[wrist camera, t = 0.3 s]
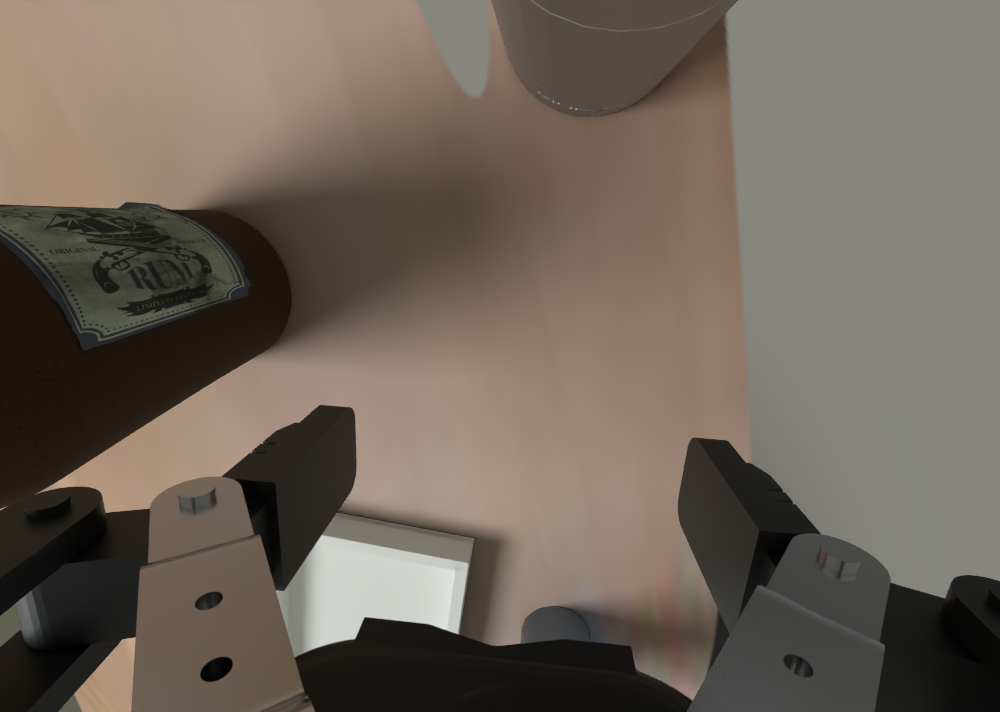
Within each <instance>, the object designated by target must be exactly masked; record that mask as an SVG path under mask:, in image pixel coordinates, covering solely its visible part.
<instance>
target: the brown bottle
mask: <svg viewBox="0 0 1000 712" xmlns="http://www.w3.org/2000/svg"><path fill="white" fill-rule="evenodd" d="M159 206H160V205H158V206H157V204H146V203H132V202H126V203H125V204H123V205H122V206H121V207H119V208H118V209H114V208H82V207H50V206H23V205H0V509H1V508H3V507H6V506H9V505H11V504H13V503H15V502H17V501H19V500H22V499H24V498H27V497H29V496H32V495H34V494H36V493H38V492H40V491H42V490H44V489H45V488H47V487H49V486H51V485H52V484H54V483H56V482H57V481H59V480H60V479H62V478H64V477H65V476H67V475H68V474H70V473H71V472H73V471H74V470H76V469H78V468H79V467H81V466H82V465H84V464H85V463H87V462H88V461H90V460H91V459H93V458H95V457H96V456H98V455H99V454H101V453H102V452H104V451H105V450H107V449H108V448H110V447H112V446H113V445H115V444H116V443H118V442H119V441H121V440H122V439H124V438H125V437H127V436H129V435H130V434H132V433H133V432H135V431H136V430H138V429H139V428H141V427H143V426H144V425H146V424H147V423H149V422H150V421H152V420H154V419H155V418H157V417H158V416H160V415H162V414H163V413H165V412H166V411H168V410H169V409H171V408H173V407H174V406H176V405H177V404H179V403H181V402H182V401H184V400H185V399H187V398H188V397H190V396H192V395H193V394H195V393H196V392H198V391H200V390H201V389H203V388H204V387H206V386H208V385H209V384H211V383H212V382H214V381H216V380H217V379H219V378H221V377H222V376H224V375H226V374H227V373H229V372H231V371H232V370H234V369H236V368H238V367H239V366H241V365H243V364H244V363H246V362H248V361H249V360H251V359H253V358H254V357H256V356H258V355H259V354H261V353H262V352H264V351H265V350H267V349H268V348H269V347H270V346H272V345H273V344H274V343H275V341H276V340H277V339H278V338H279V336H280V335H281V333H282V332H283V330H284V328H285V326H286V323H287V320H288V317H289V312H290V303H291V296H290V287H289V282H288V278H287V275H286V272H285V269H284V267H283V264H282V262H281V260H280V258H279V257H278V255H277V253H276V252H275V250H274V249H273V248H272V246H271V245H270V244H269V243H268V241H267V240H266V239H265V238H264V237H263V236H262V235H261V234H260V233H259V232H258V231H256V230H255V229H254V228H253V227H251V226H250V225H248V224H247V223H245V222H243V221H242V220H240V219H238V218H236V217H233V216H231V215H228V214H224V213H221V212H216V211H208V210H170V209H165V208H162V207H159Z"/></svg>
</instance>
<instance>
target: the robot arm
mask: <svg viewBox="0 0 1000 712" xmlns="http://www.w3.org/2000/svg"><path fill="white" fill-rule="evenodd" d="M736 1H737V0H491V2H492V5H493V8H494V11H495V14H496V17H497V21H498V24H499V28H500V31H501V34H502V37H503V41H504V44H505V47H506V50H507V53H508V56H509V58H510V60H511V63H512V65H513V67H514V69H515V71H516V74H517V75H518V77H519V78H520V79H521V81H522V82H523V83H524V85H525V86H526V87H527V89H528V90H529V91H530V92H531V93H532V94H534V95H535V96H536V97H537V98H538V99H539V100H540V101H542V102H543V103H545V104H546V105H548V106H550V107H552V108H554V109H556V110H558V111H560V112H564V113H567V114H571V115H575V116H594V117H596V116H601V115H606V114H611V113H615V112H618V111H620V110H622V109H624V108H627V107H629V106H631V105H633V104H635V103H636V102H637V101H639V100H640V99H642V98H643V97H644V96H646V95H647V94H649V93H650V92H651V91H652V90H653V89H654V88H655V87H656V86H657V85H658V84H659V83H660V82H661V81H662V80H663V79H664V78H665V76H666V75H667V74H668V73H669V72H670V71H671V70H673V69H674V68H675V67H676V66H677V65H678V63H679V62H680V61H681V60H682V59H683V58H684V57H685V56H686V55H687V54H688V53H689V52H690V51H691V50H692V49H693V47H694V46H695V45H696V44H697V43H698V42H699V41H700V40H701V39H702V38H703V37H704V36H705V35H706V34H707V33H708V31H709V30H710V29H711V28H712V27H713V26H714V25H715V24H716V23H717V22H718V21H719V20H720V19H721V18H722V16H723V15H724V14H725V13H726V12H727V11H728V10H729V9H730V8H731V7H732V6H733V5H734V4H735V3H736ZM355 476H356V432H355V414H354V411H353V409H352V408H350V407H338V406H326V405H319V406H318V407H317V408H316V409H315V410H313V411H312V412H311V413H310V414H309V415H308V416H307V417H305V418H304V419H303V420H302V421H301V422H300V423H293V424H291V425H289V426H287V427H284V428H282V429H280V430H277V431H276V432H274V433H273V434H272V435H271V436H270V437H268V438H267V439H266V440H265V441H264V442H263V444H260V445H259V446H258V447H256V448H255V449H254V450H253V451H252V453H249V454H248V455H247V456H246V457H245V458H243V459H242V460H241V461H240V462H239V463H237V464H236V465H235V466H234V467H233V468H231V469H230V470H229V471H228V472H227V473H225V474H224V475H223V476H222V477H204V478H198V479H193V480H189V481H186V482H182V483H180V484H177V485H175V486H172V487H170V488H168V489H167V490H165V491H163V492H162V493H160V494H159V495H158V496H157V497H156V498H155V499H154V500H153V502H152V503H151V506H150V509H142V510H131V511H121V512H110V513H105V508H104V503H103V498H102V494H101V493H100V492H99V491H98V490H96V489H93V488H90V487H66V488H59V489H54V490H49V491H45V492H41V493H38V494H35V495H32V496H29V497H27V498H24V499H22V500H19V501H17V502H15V503H13V504H11V505H9V506H7V507H6V508H4V509H2V510H1V511H0V616H1V615H2V614H3V613H4V612H5V611H7V610H8V609H9V608H10V607H12V606H13V605H15V609H16V612H17V616H18V620H19V624H20V627H21V630H20V631H19V632H17V633H16V634H15V635H14V636H13V637H12V638H11V639H9V640H8V641H7V642H6V643H5V644H4V645H2V646H1V647H0V712H58V711H59V710H60V709H61V708H62V707H63V705H64V704H65V703H66V702H67V701H68V700H69V699H70V698H71V696H72V695H73V694H74V693H75V692H76V691H77V690H78V689H79V688H80V686H81V685H82V684H83V683H84V682H85V681H86V680H87V679H88V677H89V676H90V675H91V674H92V673H93V672H94V671H95V670H96V669H97V667H98V666H99V665H100V664H101V663H102V662H103V661H104V660H105V658H106V657H107V656H108V655H109V654H110V653H111V652H112V651H113V650H114V648H115V647H116V646H117V645H118V644H119V643H120V641H121V640H122V639H126V638H133V637H136V642H135V659H134V676H133V693H132V710H131V712H1000V581H997V580H993V579H990V578H986V577H980V576H972V575H965V576H964V575H963V576H959V577H956V578H954V579H953V581H952V582H951V585H950V587H949V590H948V593H947V595H946V598H941V597H938V596H934V595H931V594H927V593H923V592H920V591H917V590H913V589H910V588H906V587H902V586H899V585H896V584H893V583H890V582H891V581H890V575H889V573H888V571H887V570H886V568H885V567H884V566H883V565H882V564H881V563H880V562H879V561H878V560H877V559H876V558H874V557H873V556H872V555H870V554H869V553H867V552H866V551H864V550H862V549H861V548H859V547H857V546H855V545H853V544H850V543H848V542H846V541H843V540H840V539H838V538H834V537H831V536H827V535H822V534H821V533H820V532H819V531H818V530H817V529H816V528H815V526H814V525H813V524H812V523H811V522H810V521H809V520H808V518H807V517H806V516H805V515H804V514H803V513H802V512H801V510H800V509H799V508H798V507H797V506H796V505H795V504H793V502H792V500H791V499H790V498H789V497H788V496H787V494H786V493H783V490H782V488H781V487H780V486H779V485H778V484H777V483H776V482H775V480H774V479H773V478H772V477H771V476H770V475H768V474H767V473H765V472H763V471H762V470H761V469H759V468H757V467H755V466H754V465H753V464H751V463H746V462H745V461H744V460H743V459H742V458H741V456H740V455H739V454H738V453H737V451H736V450H735V449H734V448H733V446H732V445H731V444H730V443H729V442H728V441H726V440H715V439H704V438H692V439H691V441H690V443H689V445H688V449H687V454H686V460H685V465H684V471H683V476H682V481H681V487H680V492H679V498H678V515H679V521H680V525H681V527H682V529H683V532H684V534H685V536H686V538H687V541H688V543H689V545H690V547H691V549H692V552H693V554H694V556H695V558H696V561H697V563H698V565H699V567H700V570H701V572H702V574H703V576H704V579H705V581H706V583H707V585H708V588H709V590H710V592H711V594H712V596H713V599H714V601H715V603H716V605H717V608H718V610H719V612H720V614H721V617H722V619H723V621H724V623H725V625H726V628H727V630H728V632H729V637H728V639H727V641H726V642H725V644H724V646H723V648H722V650H721V651H720V653H719V655H718V657H717V658H716V660H715V662H714V664H713V666H712V667H711V669H710V671H709V673H708V674H707V676H706V678H705V680H704V682H703V683H702V685H701V687H700V689H699V691H698V692H697V694H696V696H695V698H694V699H693V701H692V700H691V699H689V698H688V697H687V696H685V695H684V694H682V693H681V692H679V691H678V690H676V689H674V688H673V687H671V686H669V685H667V684H666V683H664V682H662V681H660V680H658V679H656V678H653V677H651V676H649V675H647V674H644V673H642V672H639V671H636V669H635V664H634V659H633V654H632V650H631V646H623V645H614V644H605V643H596V642H587V641H578V640H569V639H559V640H550V641H541V642H532V643H523V644H514V645H505V646H491V645H488V644H485V643H482V642H479V641H476V640H473V639H470V638H467V637H464V636H462V635H459V634H456V633H453V632H450V631H447V630H444V629H441V628H438V627H436V626H433V625H430V624H424V623H414V622H405V621H396V620H387V619H378V618H369V617H364V620H363V622H362V624H361V627H360V629H359V631H358V634H357V636H356V638H355V639H351V640H344V641H340V642H335V643H330V644H327V645H324V646H321V647H318V648H314V649H312V650H310V651H307V652H305V653H302V654H300V655H298V656H296V657H294V654H293V650H292V647H291V643H290V639H289V636H288V632H287V629H286V625H285V622H284V618H283V615H282V611H281V607H280V604H279V600H278V597H277V593H276V590H277V591H285V589H286V588H287V586H288V585H289V583H290V582H291V580H292V579H293V577H294V576H295V574H296V573H297V571H298V570H299V568H300V567H301V565H302V564H303V562H304V561H305V559H306V558H307V556H308V555H309V553H310V552H311V550H312V549H313V547H314V546H315V544H316V543H317V541H318V540H319V538H320V537H321V535H322V534H323V533H324V531H325V530H326V528H327V527H328V525H329V524H330V522H331V521H332V519H333V518H334V516H335V515H336V513H337V512H338V510H339V509H340V507H341V506H342V504H343V503H344V501H345V500H346V498H347V497H348V495H349V494H350V492H351V490H352V488H353V485H354V481H355Z"/></svg>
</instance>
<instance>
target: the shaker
mask: <svg viewBox="0 0 1000 712" xmlns="http://www.w3.org/2000/svg"><path fill="white" fill-rule="evenodd" d="M559 639H569V640H578V641H587V642H590V632H589V628H588V625H587V624H586V622H585V621H584V619H583V618H582V617H581V616H579V615H578V614H577V613H575V612H573V611H571V610H569V609H566V608H562V607H544V608H541V609H538V610H536V611H534V612H532V613H531V614H530V615H529V616H528V617H527V618H526V619H525V621H524V623H523V626H522V634H521V644H523V643H532V642H541V641H550V640H559Z"/></svg>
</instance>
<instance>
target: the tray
mask: <svg viewBox="0 0 1000 712" xmlns="http://www.w3.org/2000/svg"><path fill="white" fill-rule="evenodd" d="M473 544H474V538H470V537H464V536H459V535H454V534H449V533H443V532H438V531H433V530H427V529H422V528H417V527H411V526H406V525H401V524H396V523H390V522H385V521H380V520H374V519H369V518H364V517H358V516H353V515H348V514H343V513H336V515H335V516H334V518H333V519H332V521H331V522H330V524H329V525H328V527H327V528H326V530H325V531H324V533H323V534H322V535H321V537H320V538H319V540H318V541H317V543H316V544H315V546H314V547H313V549H312V550H311V552H310V553H309V555H308V556H307V558H306V559H305V561H304V562H303V564H302V565H301V567H300V568H299V570H298V571H297V573H296V574H295V576H294V577H293V579H292V580H291V582H290V583H289V585H288V586H287V588H286V589H285V591H277V590H276V593H277V597H278V600H279V604H280V607H281V611H282V615H283V618H284V622H285V625H286V629H287V632H288V636H289V639H290V643H291V647H292V650H293V654H294V657H296V656H298V655H300V654H302V653H305V652H307V651H310V650H312V649H314V648H318V647H321V646H324V645H327V644H330V643H335V642H340V641H344V640H351V639H355V638H356V636H357V634H358V631H359V629H360V627H361V624H362V622H363V620H364V617H369V618H378V619H387V620H396V621H405V622H414V623H424V624H430V625H433V626H436V627H438V628H441V629H444V630H447V631H450V632H453V633H456V634H459V635H460V629H461V623H462V616H463V610H464V603H465V597H466V590H467V583H468V577H469V570H470V564H471V557H472V551H473Z"/></svg>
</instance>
